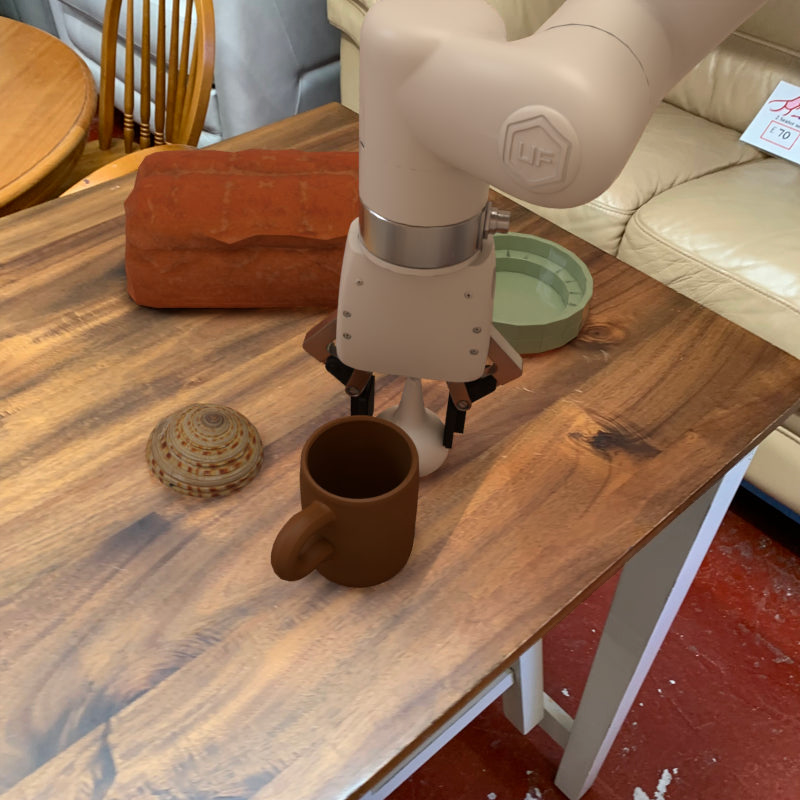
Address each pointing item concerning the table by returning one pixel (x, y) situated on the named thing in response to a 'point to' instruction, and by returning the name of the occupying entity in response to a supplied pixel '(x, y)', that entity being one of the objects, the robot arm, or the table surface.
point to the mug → (352, 505)
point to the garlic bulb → (419, 426)
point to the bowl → (538, 292)
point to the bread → (240, 228)
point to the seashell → (205, 451)
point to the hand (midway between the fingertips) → (407, 427)
